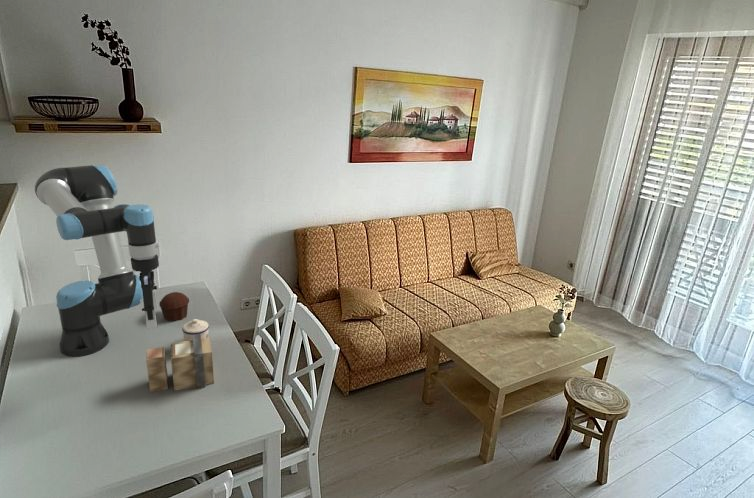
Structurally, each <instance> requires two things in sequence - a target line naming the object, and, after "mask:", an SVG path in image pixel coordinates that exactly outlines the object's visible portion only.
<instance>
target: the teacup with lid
mask: <svg viewBox="0 0 754 498" xmlns="http://www.w3.org/2000/svg"><path fill="white" fill-rule="evenodd" d="M209 328H210V324H209V322H207V321H206V320H202V319H198V318H194V319H192V320H191V321H188V322H186V323H184V324H183V326H182V329H181V330H182V334H183V342H184V341H191V340H193V335H198V334H200V336H201V339H205V338H210V329H209Z"/></svg>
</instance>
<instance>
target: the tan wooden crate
mask: <svg viewBox="0 0 754 498" xmlns="http://www.w3.org/2000/svg"><path fill="white" fill-rule="evenodd" d="M212 350H213V349H212V344H211V338H210V337H209V338H205V339H201V336H200V334H198V335H193V340H191V341H184V340H183V341H178V342H172V343H170V362H171V369H172V370H171V372H172V380H173V391H180V390H184V389H190V388H197V389H203V388H206V385H212V384H215V380H214V379H215V378H214V366H213V365H214V364H213V363H214V362H213V351H212Z"/></svg>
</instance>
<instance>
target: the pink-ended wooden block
mask: <svg viewBox="0 0 754 498" xmlns="http://www.w3.org/2000/svg"><path fill="white" fill-rule="evenodd" d="M145 358H146V359H145V361H146V362H145V363H146V368H147V376H148V384H149V391H150V393H153V392H160V391H163V390H164V391H165V390H168V387H169V386H168V385H169V384H168V382H169V380H168V379H169V377H168V369H167V359H166V352H165V346H160V347H155V348H148V349H146V357H145Z"/></svg>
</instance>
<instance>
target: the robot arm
mask: <svg viewBox="0 0 754 498" xmlns="http://www.w3.org/2000/svg"><path fill="white" fill-rule="evenodd" d="M117 187H118V186H117V182H116V179H115V177H114V175H113V173H112V171H111V170H110V169H109V168H108V167H106V166H105V165H101V164H100V165H92V164H90V165H83V166H82V165H81V166H79V165H78V166H71V167H70V166H69V167H57V168H52V169H50V170H48V171H45V172H44V173H43V174H42V175H41V176H39V177H38V178H37V180H36V182H35V184H34V193H35V195H36V197H37V199H38V200H39V201H40V202H41V203H42V204H44V205H46V206H48V207H49V208H50V210H51V211H52V212H53V213H54V215H56V220H55V222H56V227H57V231H58V233H59V236H60V238H61V239H63V240H64V241H69V240H71V241H72V240H80V239H85V238H86V239H87V238H90V237H91V241H92V243H93V248H94V251H95V254H96V259H97V263H98V266H99V269H100V273H99V275H98V276H97V280H98V281H97V282H98V283H97V282H96V283H94V281H91V280H78V281H75V282H71V283H69V284H67V285H64V286H63V287H62V288H60V289H59V290H58V291H57V293H56V307H57V309H58V313H59V314H58V315H59V319H60V325H61V329H62V330H61V335H60V342H59V344H58V345H59V351H60V352H61V354H62V355H64V356H67V357H82V356H88V355H92V354H94V353H97V352H99V351H101V350H102V349H104V348H105V347H106V346H107V345H108V344H109V343H110V337H109V333H108V331H107V330H106V328H105V327H104V325H103V323H102V321H101V316H105V315H108V314H112V313H116V312H119V311H123V310H124V311H125V310H127V309H128V310H129V309H131V308H134V307H136V306H139V305H140V304H141V302H143V308H141V311H142V312H144V316H145V324H146V329H147V330H151V329H157V328H158V326H157V325H158V324H157V317H156V310H158V303H157V295H156V294H157V293H156V290H158V286H157V285H155V270H156V269H157V268H159V266H160V262H159V255H158V249H157V248H159V247H160V245H159V243H158V244H157V240H156V239H157V238H156V230H155V221H154V220H155V219H154V218H155V216H154V214H153V209H152V207H151V206H149V205H147V204H131V205H129V204H126V203H120V204H117V205H115V206H114V207H112V204H113V202H114V201H115V196H117V194H118V188H117ZM121 232H126V237H127V242H128V243H127V245H128V252H129V253H128V254H129V257H130V264H131V265H130V267H131V268H129V267H128V266H127V261H126V259H125V258H126V257H125V253H124V250H123V246H122V243H121V239H120V235H119V233H121ZM134 272H139V274H134Z"/></svg>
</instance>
